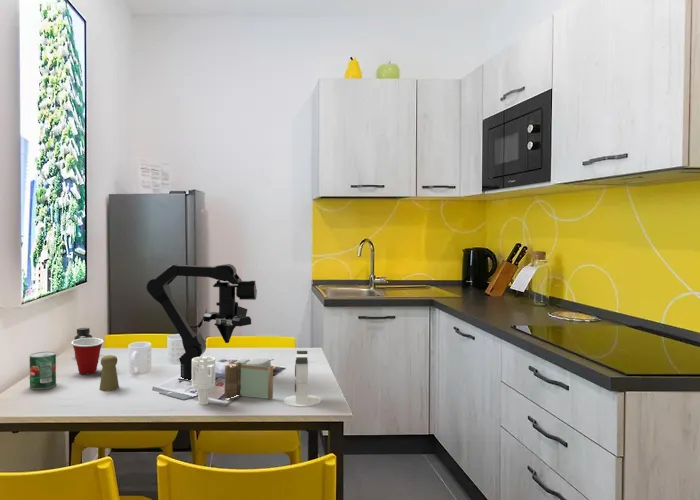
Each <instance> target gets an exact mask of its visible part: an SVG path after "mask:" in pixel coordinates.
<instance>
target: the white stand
mask: <svg viewBox="0 0 700 500" xmlns="http://www.w3.org/2000/svg"><path fill="white" fill-rule="evenodd" d="M294 377H295V381H294V382H295V383H294V392H295V395H290V396H287V397H285V398H284V400H283V402H284V404H285V405H287V406H289V407H295V408H308V407H312V406H316V405H318V404H320V402H321V399H320V398H319V397H318V396H315V395H311V394H310V395H309V394H308V393H309V388H308V387H309V384H308V383H309V354H308V350H297V351H296V358H295V365H294Z"/></svg>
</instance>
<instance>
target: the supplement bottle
mask: <svg viewBox="0 0 700 500" xmlns="http://www.w3.org/2000/svg"><path fill="white" fill-rule="evenodd" d="M90 329H91V328H90V327H80V328H76V334H77V335H75V336H74V338H73V340H76V339H81V338H94V337H93V335H92V334H90V333H91V332H90V331H91V330H90ZM74 358H75V359H76V356H75V355H74Z"/></svg>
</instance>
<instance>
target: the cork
mask: <svg viewBox="0 0 700 500" xmlns="http://www.w3.org/2000/svg"><path fill="white" fill-rule="evenodd" d="M117 364H118V357H117V356H116V355H111V354H109V355H103V356H102V357H101V358H100V366H101V368H102V369H101V375H100V383H99V391H101V392H102V391H103V392H111V391H116V390H117V389H119V388H120V386H119V385H120V384H119V379H118V372H117V366H116V365H117Z"/></svg>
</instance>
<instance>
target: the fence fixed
mask: <svg viewBox="0 0 700 500" xmlns="http://www.w3.org/2000/svg"><path fill="white" fill-rule="evenodd" d="M230 366H231V364H230V365H228V364H227V365H224V399H225V398H231V397H234V396H236V395H241V363H240V362H237V363H236V366H232V367H230Z"/></svg>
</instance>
